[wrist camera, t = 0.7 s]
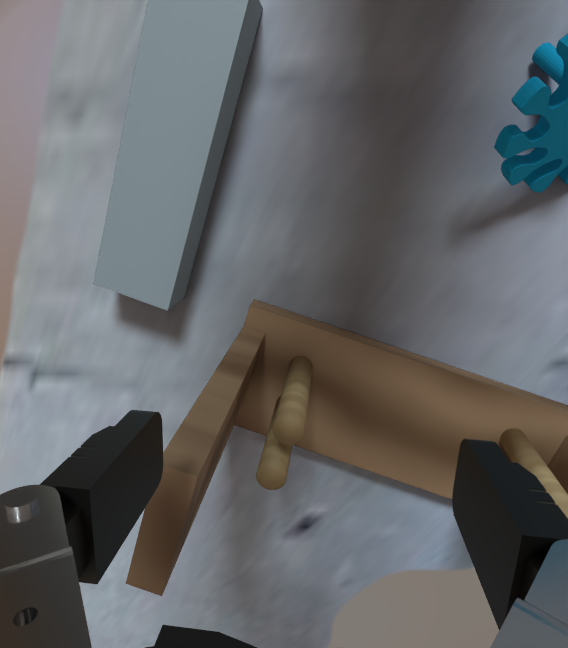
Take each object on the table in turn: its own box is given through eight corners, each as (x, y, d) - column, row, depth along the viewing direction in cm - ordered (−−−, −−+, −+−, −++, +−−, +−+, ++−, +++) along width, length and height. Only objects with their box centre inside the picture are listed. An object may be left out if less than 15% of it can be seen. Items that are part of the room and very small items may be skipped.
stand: (254, 299, 31) (165, 427, 15) (588, 412, 30) (851, 662, 15) (221, 408, 34) (119, 609, 18) (524, 511, 33) (687, 806, 18)
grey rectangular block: (181, -20, 25) (157, -49, 22) (263, 10, 25) (252, -15, 22) (119, 272, 31) (93, 283, 28) (186, 296, 31) (167, 310, 28)
